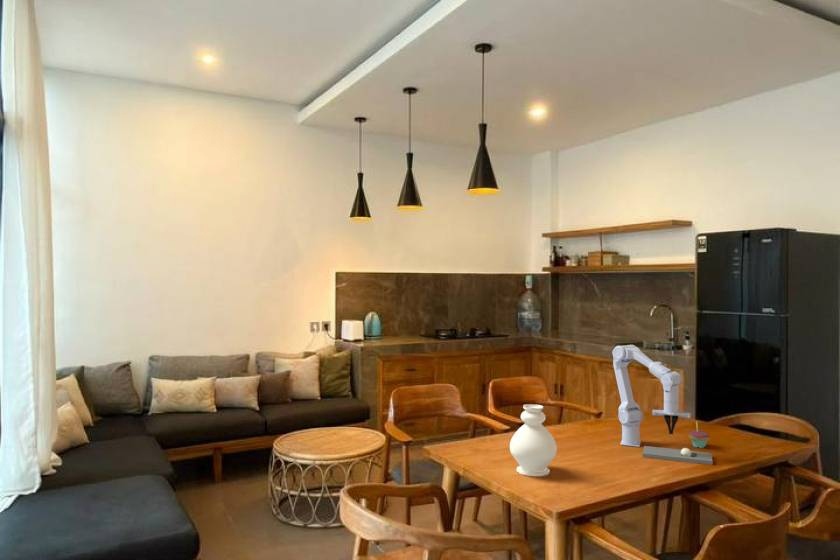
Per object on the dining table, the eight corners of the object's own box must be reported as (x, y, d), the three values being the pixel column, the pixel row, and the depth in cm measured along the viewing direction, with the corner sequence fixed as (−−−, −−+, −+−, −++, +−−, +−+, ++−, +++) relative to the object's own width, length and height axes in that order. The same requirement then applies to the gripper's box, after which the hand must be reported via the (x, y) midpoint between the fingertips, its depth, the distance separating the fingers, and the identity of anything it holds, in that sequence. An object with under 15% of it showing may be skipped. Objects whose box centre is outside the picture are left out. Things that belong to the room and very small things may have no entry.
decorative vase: (565, 471, 226) (565, 406, 226) (539, 482, 214) (539, 413, 214) (527, 460, 239) (527, 399, 239) (500, 470, 227) (500, 406, 226)
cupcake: (703, 450, 253) (703, 422, 253) (684, 445, 260) (684, 418, 260) (713, 446, 259) (713, 419, 258) (694, 442, 265) (694, 416, 265)
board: (644, 449, 255) (644, 445, 255) (710, 456, 245) (710, 452, 245) (642, 457, 244) (642, 453, 244) (712, 464, 234) (712, 461, 234)
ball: (693, 454, 243) (684, 459, 245) (687, 445, 245) (679, 450, 246) (693, 455, 240) (684, 460, 241) (687, 446, 241) (678, 451, 243)
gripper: (652, 401, 244) (652, 434, 244) (690, 404, 239) (690, 437, 239) (652, 398, 251) (652, 430, 251) (690, 401, 245) (690, 433, 245)
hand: (671, 433), depth 245 cm, fingers closed
